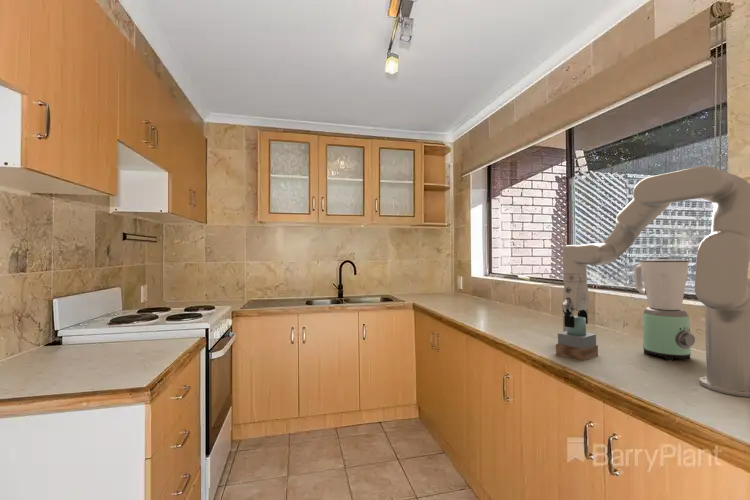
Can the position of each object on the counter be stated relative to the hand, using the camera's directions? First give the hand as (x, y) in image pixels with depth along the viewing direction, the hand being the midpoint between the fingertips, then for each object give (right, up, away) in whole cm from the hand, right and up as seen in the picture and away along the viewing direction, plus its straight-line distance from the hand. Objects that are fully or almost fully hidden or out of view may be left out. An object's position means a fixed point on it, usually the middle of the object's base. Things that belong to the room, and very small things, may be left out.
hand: (576, 325), depth 127 cm
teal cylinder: (0, -3, 0) cm, 3 cm away
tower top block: (0, -7, 0) cm, 7 cm away
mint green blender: (+30, -10, -3) cm, 32 cm away
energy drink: (+6, -11, +13) cm, 18 cm away
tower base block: (0, -11, 0) cm, 11 cm away
